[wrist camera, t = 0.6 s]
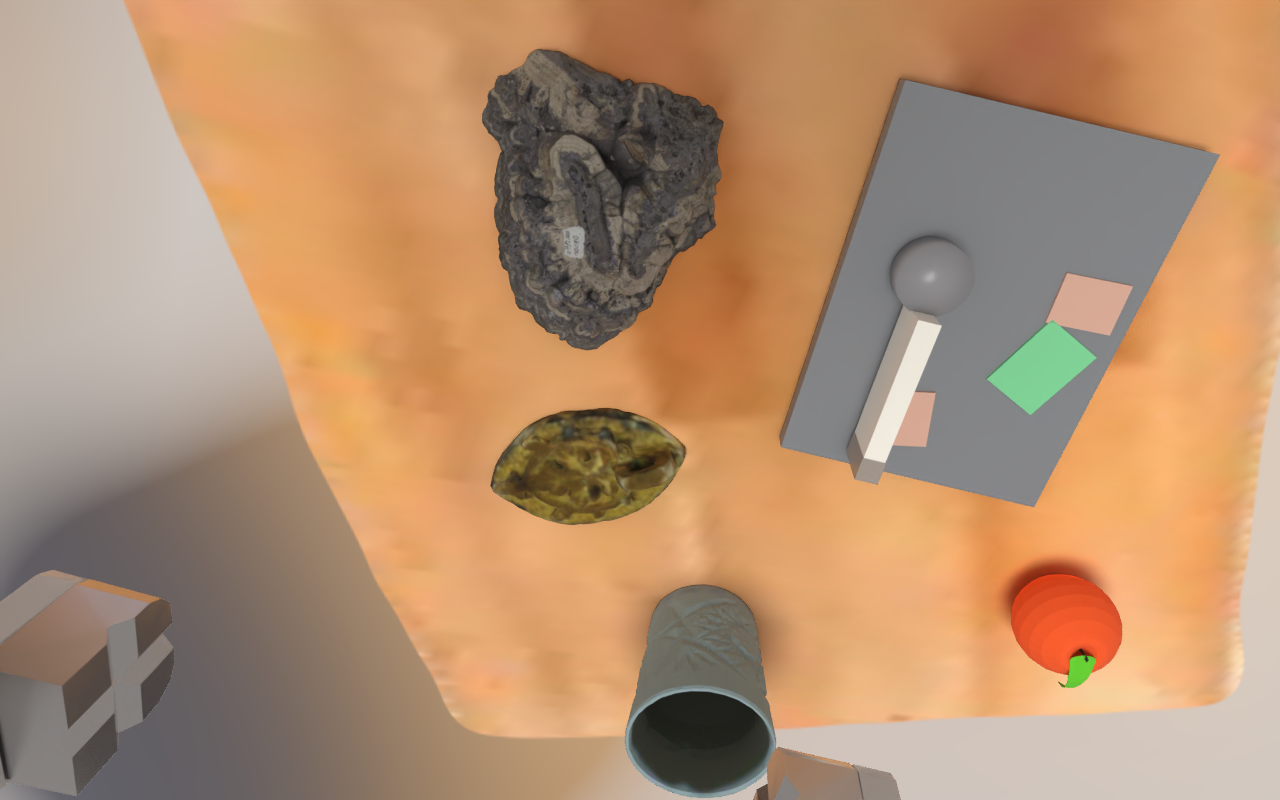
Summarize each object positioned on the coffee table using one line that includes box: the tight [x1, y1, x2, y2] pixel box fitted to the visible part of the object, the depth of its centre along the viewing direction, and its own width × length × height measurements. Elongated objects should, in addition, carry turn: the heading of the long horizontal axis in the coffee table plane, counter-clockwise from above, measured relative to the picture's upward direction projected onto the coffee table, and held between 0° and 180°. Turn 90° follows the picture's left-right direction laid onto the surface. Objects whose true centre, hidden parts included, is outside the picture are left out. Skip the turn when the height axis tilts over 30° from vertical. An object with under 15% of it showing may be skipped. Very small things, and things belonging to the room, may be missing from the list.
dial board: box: [780, 79, 1220, 507], centre depth 48 cm, size 24×18×2 cm
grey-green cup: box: [625, 585, 776, 798], centre depth 56 cm, size 10×10×12 cm
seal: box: [490, 408, 685, 525], centre depth 55 cm, size 9×5×15 cm
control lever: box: [846, 236, 975, 485], centre depth 47 cm, size 15×4×4 cm, turn 168°
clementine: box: [1011, 574, 1122, 688], centre depth 54 cm, size 8×7×7 cm
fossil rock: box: [482, 49, 723, 350], centre depth 47 cm, size 19×4×15 cm
